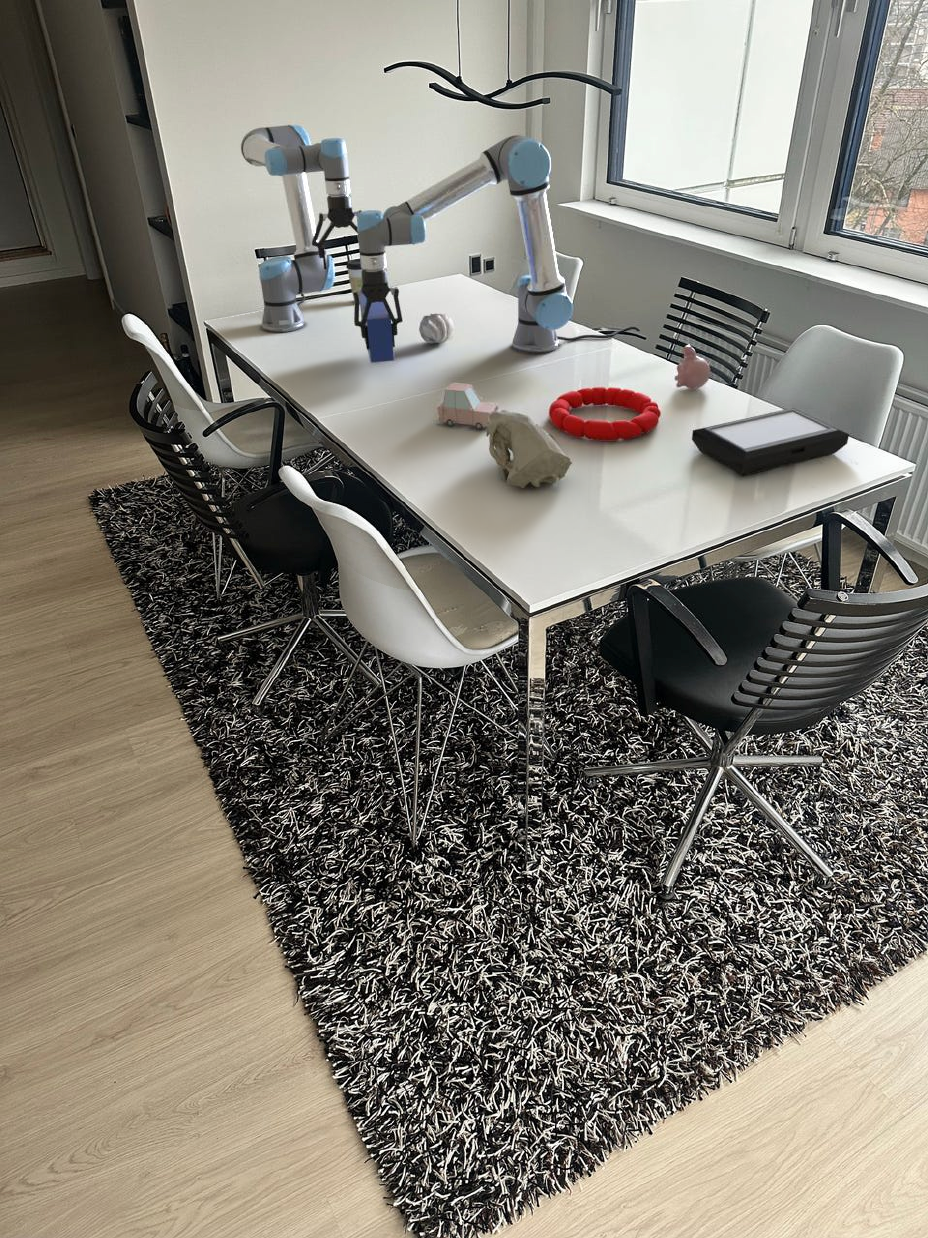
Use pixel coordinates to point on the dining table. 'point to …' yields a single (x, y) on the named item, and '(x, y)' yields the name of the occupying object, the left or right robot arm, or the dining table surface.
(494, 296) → the dining table surface
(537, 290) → the right robot arm
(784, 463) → the electronic device
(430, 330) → the seashell
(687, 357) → the figurine
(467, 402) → the toy car
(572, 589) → the dining table surface
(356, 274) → the coffee cup
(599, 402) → the decorative ring
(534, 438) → the animal skull
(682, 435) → the dining table surface
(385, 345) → the box
